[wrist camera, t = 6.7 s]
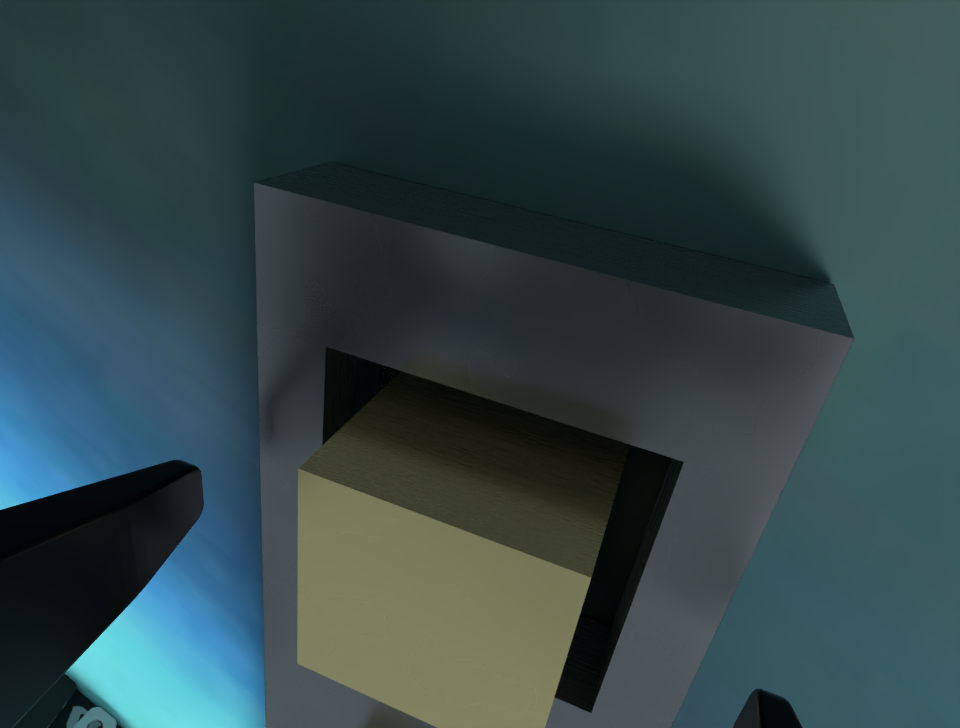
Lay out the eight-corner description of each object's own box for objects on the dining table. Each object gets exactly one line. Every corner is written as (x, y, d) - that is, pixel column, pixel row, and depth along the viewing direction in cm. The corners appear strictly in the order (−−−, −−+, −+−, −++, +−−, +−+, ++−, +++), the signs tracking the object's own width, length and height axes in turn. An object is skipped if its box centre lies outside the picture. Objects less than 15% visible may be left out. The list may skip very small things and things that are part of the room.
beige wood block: (587, 581, 13) (531, 771, 10) (406, 513, 14) (297, 663, 11) (639, 414, 11) (590, 577, 8) (424, 349, 12) (297, 469, 9)
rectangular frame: (550, 933, 19) (531, 1021, 17) (308, 807, 20) (269, 874, 19) (834, 284, 9) (854, 339, 7) (330, 162, 11) (253, 182, 9)
